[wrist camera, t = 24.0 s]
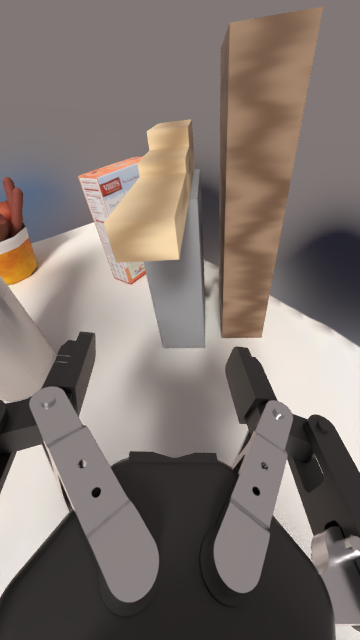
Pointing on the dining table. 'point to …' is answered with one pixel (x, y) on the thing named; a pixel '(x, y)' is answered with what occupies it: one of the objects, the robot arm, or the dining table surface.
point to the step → (182, 283)
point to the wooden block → (258, 154)
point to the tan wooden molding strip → (156, 198)
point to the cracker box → (112, 207)
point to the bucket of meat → (14, 238)
